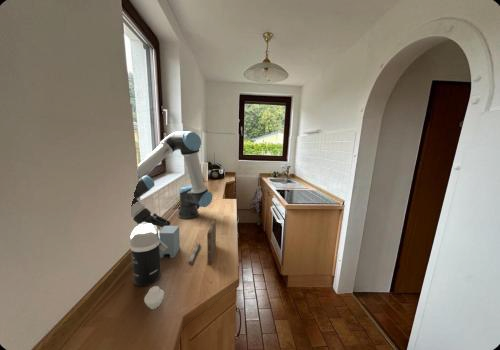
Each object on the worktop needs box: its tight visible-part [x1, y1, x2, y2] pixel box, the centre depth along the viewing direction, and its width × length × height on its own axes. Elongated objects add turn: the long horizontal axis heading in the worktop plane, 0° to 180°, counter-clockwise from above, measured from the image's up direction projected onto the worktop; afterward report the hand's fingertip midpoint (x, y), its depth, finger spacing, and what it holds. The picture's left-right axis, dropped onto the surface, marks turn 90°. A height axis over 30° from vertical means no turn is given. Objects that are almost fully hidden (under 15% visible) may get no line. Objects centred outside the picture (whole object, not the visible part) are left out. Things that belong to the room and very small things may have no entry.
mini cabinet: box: [158, 225, 181, 259], centre depth 93 cm, size 8×8×13 cm
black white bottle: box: [129, 221, 162, 287], centre depth 74 cm, size 10×10×25 cm
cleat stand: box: [188, 218, 217, 266], centre depth 92 cm, size 16×10×16 cm, turn 2°
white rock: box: [143, 285, 165, 310], centre depth 63 cm, size 6×6×7 cm
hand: (171, 241), depth 93 cm, fingers open, 13 cm apart
